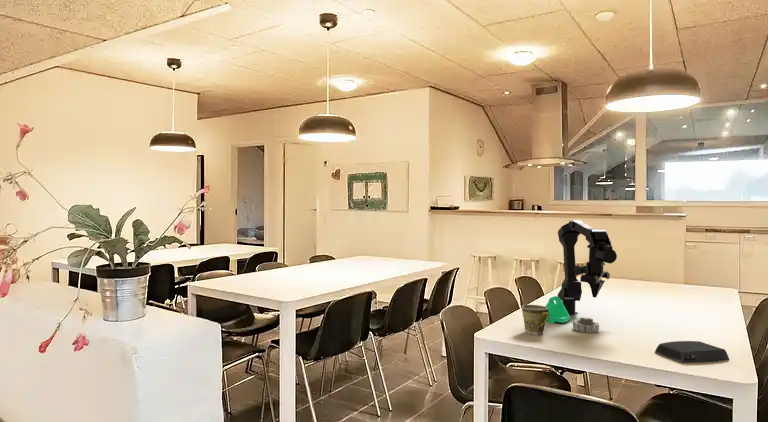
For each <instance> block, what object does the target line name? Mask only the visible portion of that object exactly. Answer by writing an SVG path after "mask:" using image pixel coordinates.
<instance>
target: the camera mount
mask: <svg viewBox="0 0 768 422" xmlns="http://www.w3.org/2000/svg"><path fill="white" fill-rule="evenodd" d="M544 306H545V307H548V308H549V310H548V313H549V316H550V318H549V320H548V321H546V322H545V323H551V324H556V323H565V322H568V321H570V317H571V315H569V314H568V312H567V310H566V308H565V306H564V305H563V303H562V301H561V299H560V298H559V297H558V295H554V296H552V297H550V298H548V302H547V303H546V304H545V305H544ZM547 319H548V315H547V318H546V320H547Z"/></svg>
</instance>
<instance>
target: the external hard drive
mask: <svg viewBox="0 0 768 422" xmlns="http://www.w3.org/2000/svg"><path fill="white" fill-rule="evenodd" d="M654 354H657V355H659V356H662V357H665V358H667V359H670V360H673V361H675V362H678V363H680V364H698V363H700V364H701V363H714V362H715V363H717V362H723V361H724V362H726V361H730V357H729V354H728V353H727V351H726V349H724V348H721V347H718V346H715V345H713V344H712V345H711V344H709V343H705V342H702V341H701V340H699V341H696V340H675V341H668V342H661V343H659V344H658V345H657V346H656V348H655V351H654Z"/></svg>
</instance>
